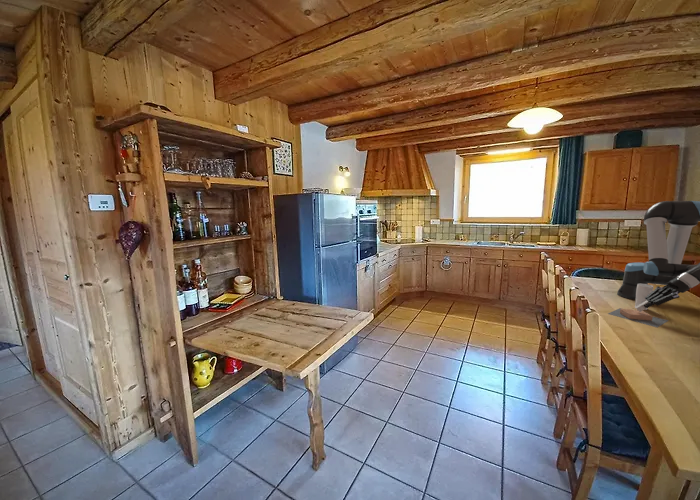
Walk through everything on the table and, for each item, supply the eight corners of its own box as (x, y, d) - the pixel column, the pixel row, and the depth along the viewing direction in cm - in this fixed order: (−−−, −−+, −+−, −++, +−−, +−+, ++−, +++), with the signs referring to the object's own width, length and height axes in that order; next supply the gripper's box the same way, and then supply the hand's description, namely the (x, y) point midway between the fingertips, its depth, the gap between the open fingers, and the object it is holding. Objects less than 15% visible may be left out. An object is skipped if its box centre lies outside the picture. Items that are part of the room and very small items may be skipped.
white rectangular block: (641, 307, 170) (646, 283, 168) (652, 311, 164) (657, 287, 161) (629, 306, 171) (634, 283, 168) (639, 311, 164) (644, 286, 162)
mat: (619, 309, 167) (620, 308, 167) (668, 321, 150) (668, 320, 150) (607, 314, 160) (607, 313, 159) (657, 328, 142) (657, 327, 142)
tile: (642, 310, 156) (620, 308, 159) (652, 316, 149) (629, 314, 152) (641, 315, 157) (619, 313, 160) (651, 321, 149) (628, 318, 152)
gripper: (699, 292, 140) (651, 319, 147) (677, 284, 152) (634, 310, 160) (687, 281, 140) (640, 309, 148) (667, 274, 152) (624, 300, 160)
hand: (637, 309), depth 154 cm, fingers closed
